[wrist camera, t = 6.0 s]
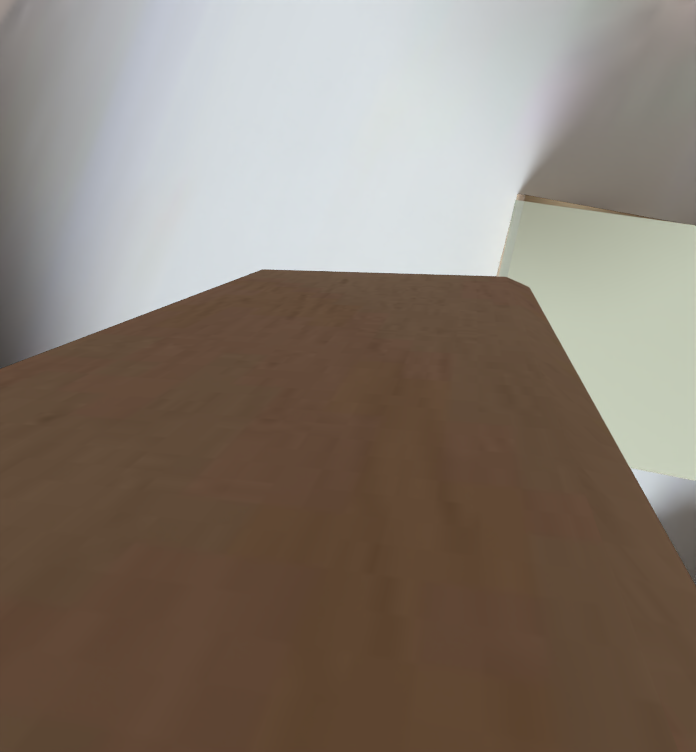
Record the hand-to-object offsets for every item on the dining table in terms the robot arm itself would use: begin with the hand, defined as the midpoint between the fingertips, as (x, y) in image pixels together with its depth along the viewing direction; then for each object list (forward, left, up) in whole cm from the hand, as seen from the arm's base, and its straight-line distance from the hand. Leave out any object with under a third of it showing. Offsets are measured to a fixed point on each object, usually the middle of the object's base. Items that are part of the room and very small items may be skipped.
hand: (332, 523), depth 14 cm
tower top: (+10, +2, -22) cm, 24 cm away
